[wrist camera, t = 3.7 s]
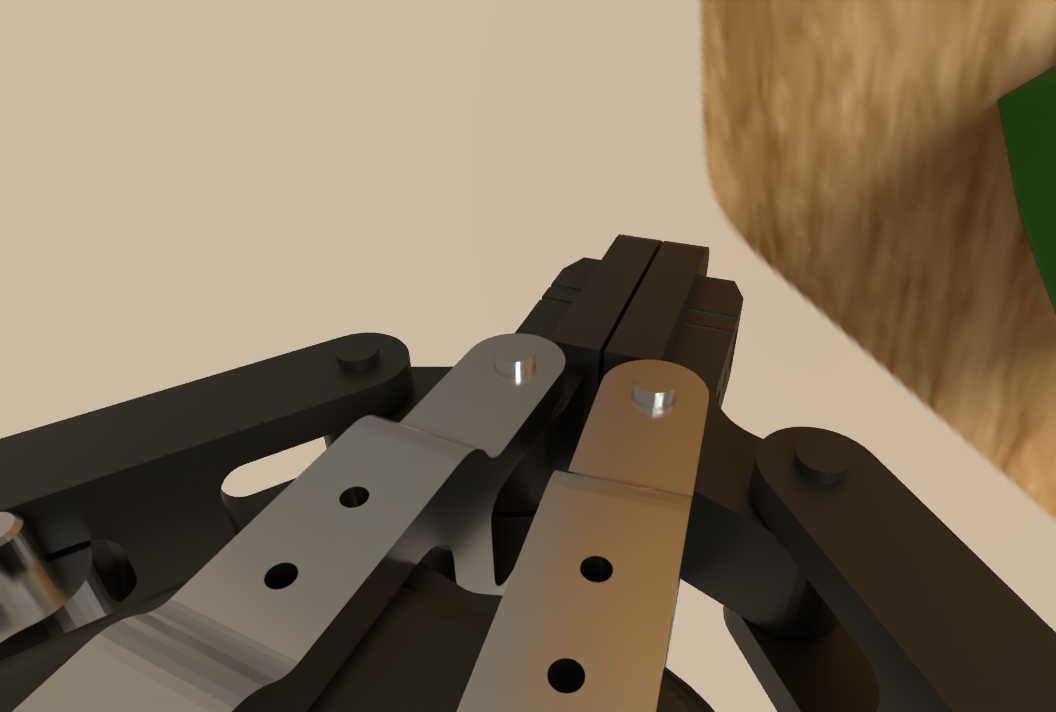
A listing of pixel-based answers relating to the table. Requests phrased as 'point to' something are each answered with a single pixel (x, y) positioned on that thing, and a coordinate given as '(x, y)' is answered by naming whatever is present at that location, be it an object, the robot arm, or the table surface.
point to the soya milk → (1035, 166)
